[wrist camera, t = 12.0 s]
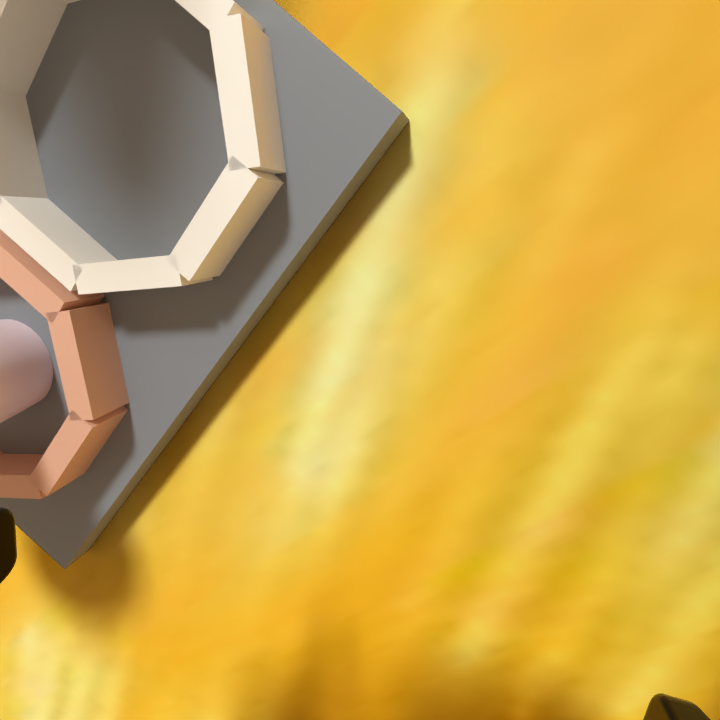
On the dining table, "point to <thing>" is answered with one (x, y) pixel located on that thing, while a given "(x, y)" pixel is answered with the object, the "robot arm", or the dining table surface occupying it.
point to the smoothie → (22, 368)
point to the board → (154, 221)
